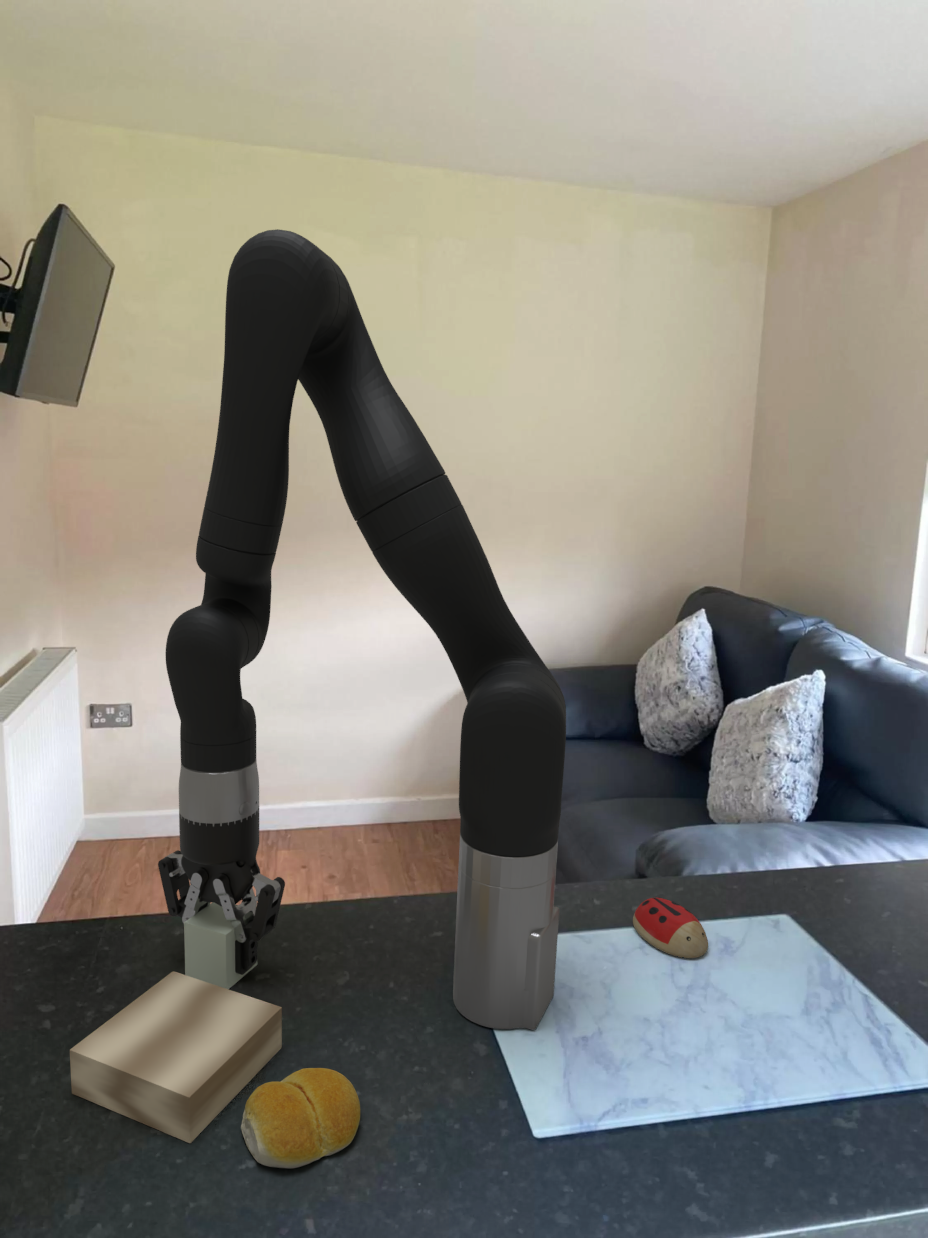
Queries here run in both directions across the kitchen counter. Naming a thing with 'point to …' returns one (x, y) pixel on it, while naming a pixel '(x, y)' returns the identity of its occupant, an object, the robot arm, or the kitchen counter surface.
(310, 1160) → the bread roll
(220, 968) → the sage block
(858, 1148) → the kitchen counter surface
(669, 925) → the ladybug figurine
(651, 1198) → the kitchen counter surface
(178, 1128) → the birch plinth
